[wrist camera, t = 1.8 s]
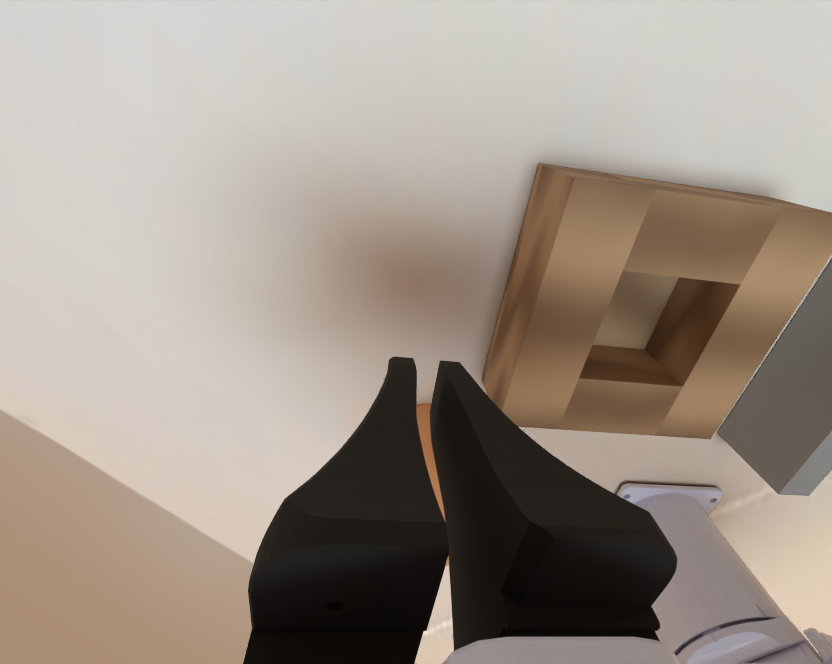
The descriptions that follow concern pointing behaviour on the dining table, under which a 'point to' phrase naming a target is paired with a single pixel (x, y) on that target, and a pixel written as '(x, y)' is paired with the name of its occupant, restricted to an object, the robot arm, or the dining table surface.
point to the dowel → (429, 451)
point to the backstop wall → (791, 402)
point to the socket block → (645, 302)
